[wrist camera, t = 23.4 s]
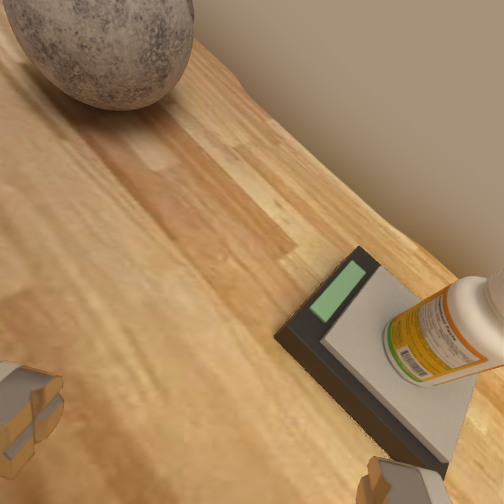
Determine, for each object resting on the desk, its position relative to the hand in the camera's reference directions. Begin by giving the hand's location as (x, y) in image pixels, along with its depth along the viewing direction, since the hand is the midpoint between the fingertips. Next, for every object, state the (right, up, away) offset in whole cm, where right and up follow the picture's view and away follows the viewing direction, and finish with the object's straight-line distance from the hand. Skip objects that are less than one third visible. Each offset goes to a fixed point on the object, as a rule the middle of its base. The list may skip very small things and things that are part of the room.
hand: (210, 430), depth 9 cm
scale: (+11, -4, +20) cm, 23 cm away
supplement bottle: (+13, -3, +17) cm, 22 cm away
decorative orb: (-14, +21, +26) cm, 36 cm away
